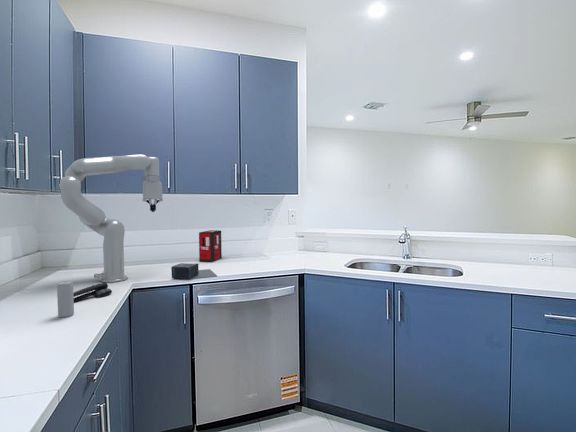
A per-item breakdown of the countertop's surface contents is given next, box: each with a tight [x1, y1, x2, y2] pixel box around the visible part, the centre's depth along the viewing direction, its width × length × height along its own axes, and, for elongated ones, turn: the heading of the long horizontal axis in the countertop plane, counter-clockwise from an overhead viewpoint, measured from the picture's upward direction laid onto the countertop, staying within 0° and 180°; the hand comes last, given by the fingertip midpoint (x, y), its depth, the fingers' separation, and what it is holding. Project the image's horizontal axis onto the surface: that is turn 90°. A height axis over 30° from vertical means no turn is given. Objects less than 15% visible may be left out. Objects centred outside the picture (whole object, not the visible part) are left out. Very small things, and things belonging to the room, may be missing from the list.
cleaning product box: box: [198, 229, 223, 264], centre depth 234 cm, size 16×9×20 cm, turn 168°
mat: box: [181, 268, 218, 281], centre depth 189 cm, size 18×20×1 cm
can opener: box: [73, 282, 113, 304], centre depth 143 cm, size 18×7×6 cm, turn 149°
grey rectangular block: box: [56, 280, 75, 318], centre depth 121 cm, size 5×5×12 cm
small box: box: [171, 262, 200, 280], centre depth 182 cm, size 11×6×10 cm
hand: (153, 211), depth 191 cm, fingers closed
